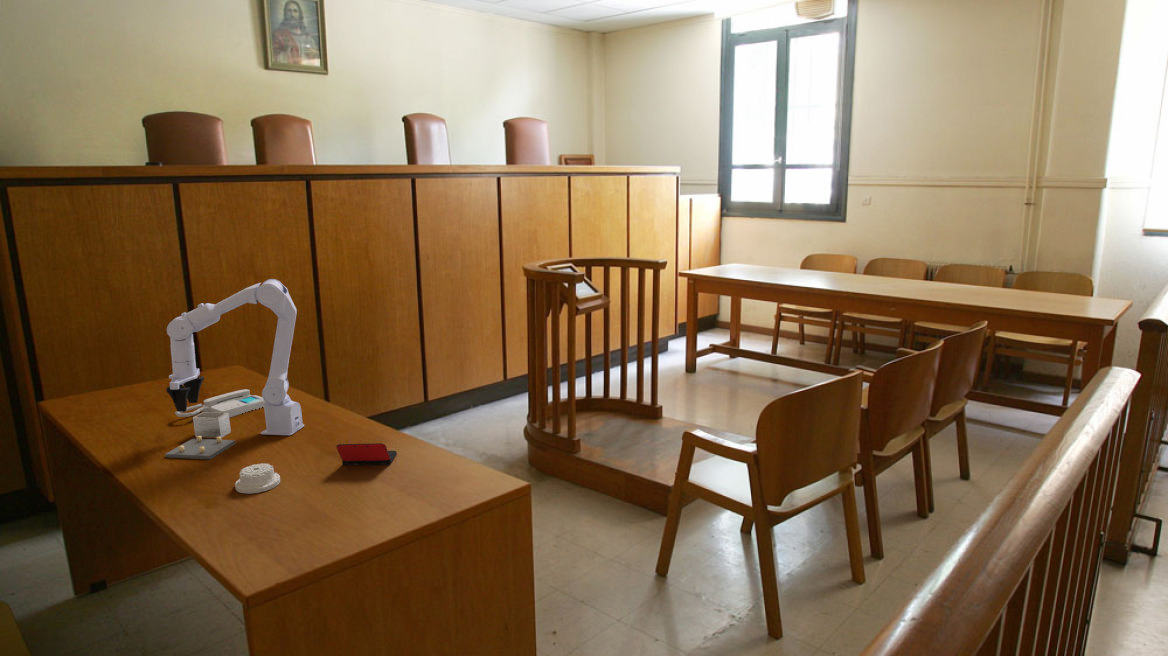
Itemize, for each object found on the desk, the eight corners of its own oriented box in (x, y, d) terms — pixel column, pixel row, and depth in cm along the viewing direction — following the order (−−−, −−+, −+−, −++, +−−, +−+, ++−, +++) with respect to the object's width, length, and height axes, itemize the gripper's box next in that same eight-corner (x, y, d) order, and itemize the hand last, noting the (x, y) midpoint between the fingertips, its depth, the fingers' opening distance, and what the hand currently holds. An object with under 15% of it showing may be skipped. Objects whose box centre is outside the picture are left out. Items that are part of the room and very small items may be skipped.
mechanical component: (226, 493, 171) (263, 496, 169) (224, 476, 170) (261, 479, 168) (253, 475, 180) (288, 478, 178) (251, 459, 179) (287, 462, 177)
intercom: (168, 407, 220) (246, 386, 239) (170, 421, 221) (248, 399, 240) (189, 415, 212) (268, 393, 232) (191, 429, 213) (270, 406, 233)
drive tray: (235, 443, 201) (234, 435, 200) (210, 459, 190) (209, 450, 190) (193, 441, 203) (192, 433, 202) (165, 457, 192) (164, 448, 192)
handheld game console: (398, 454, 192) (396, 428, 191) (387, 471, 182) (385, 443, 180) (351, 455, 192) (348, 428, 191) (337, 471, 182) (335, 444, 180)
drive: (231, 432, 210) (228, 412, 208) (221, 438, 205) (218, 417, 204) (206, 431, 211) (203, 411, 210) (195, 437, 207) (192, 416, 205)
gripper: (179, 353, 206) (183, 398, 208) (156, 366, 191) (160, 415, 194) (205, 353, 206) (209, 398, 209) (184, 367, 192) (188, 415, 195)
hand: (187, 406), depth 202 cm, fingers open, 7 cm apart
